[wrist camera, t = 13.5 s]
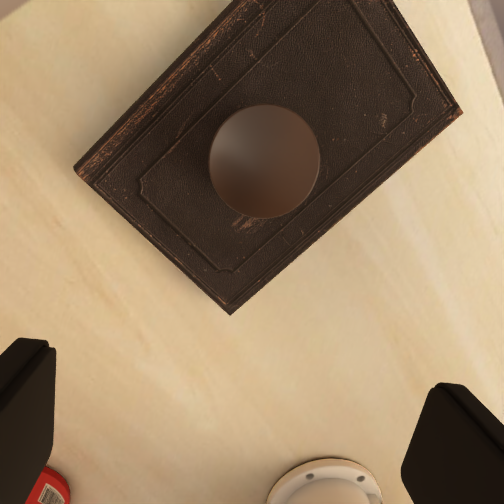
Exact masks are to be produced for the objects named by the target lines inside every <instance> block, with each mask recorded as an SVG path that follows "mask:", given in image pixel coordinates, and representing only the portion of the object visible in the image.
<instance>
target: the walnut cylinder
mask: <svg viewBox="0 0 504 504" xmlns="http://www.w3.org/2000/svg"><path fill="white" fill-rule="evenodd" d="M208 164H209V173H210V178H211V181H212V184H213V186H214V188H215V190H216V192H217V193H218V195H219V196H220V198H221V199H222V200H223V201H224V202H225V203H226V204H227V205H228V206H229V207H230V208H232V209H233V210H235V211H236V212H238V213H240V214H242V215H245V216H248V217H252V218H260V219H267V218H274V217H278V216H281V215H284V214H286V213H288V212H290V211H292V210H293V209H295V208H296V207H298V206H299V205H300V204H301V203H302V202H303V201H304V200H305V199H306V198H307V196H308V195H309V194H310V192H311V191H312V189H313V187H314V185H315V182H316V180H317V177H318V173H319V167H320V153H319V147H318V143H317V140H316V138H315V135H314V133H313V132H312V130H311V128H310V127H309V125H308V124H307V123H306V122H305V121H304V120H303V118H302V117H300V116H299V115H298V114H297V113H295V112H293V111H292V110H290V109H288V108H286V107H283V106H280V105H276V104H269V103H263V104H255V105H250V106H247V107H244V108H242V109H240V110H238V111H237V112H235V113H234V114H232V115H231V116H230V117H229V118H227V119H226V120H225V121H224V122H223V124H222V125H221V126H220V127H219V129H218V130H217V132H216V134H215V136H214V138H213V140H212V143H211V146H210V151H209V160H208Z"/></svg>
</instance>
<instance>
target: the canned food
mask: <svg viewBox="0 0 504 504" xmlns="http://www.w3.org/2000/svg"><path fill="white" fill-rule="evenodd" d="M69 502H70V490H69V486H68V484H67V482H66V481H65V479H64V478H63V477H62V476H61V475H60V474H58V473H57V472H56V471H54V470H52V469H50V468H48V467H44V469H43V470H42V472H41V474H40V476H39V478H38V480H37V482H36V484H35V485H34V487H33V489H32V491H31V493H30V495H29V497H28V499H27V500H26V502H25V504H69Z"/></svg>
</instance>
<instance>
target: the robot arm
mask: <svg viewBox="0 0 504 504" xmlns="http://www.w3.org/2000/svg"><path fill="white" fill-rule="evenodd" d="M55 377H56V349H55V348H52V347H49V344H48V341H46V340H39V339H29V338H18V339H17V340H15V341H14V342H13V343H12V344H11V345H10V346H9V347H8V348H7V349H6V350H5V351H4V352H3V353H2V354H1V355H0V504H25V502H26V500H27V499H28V497H29V495H30V493H31V491H32V489H33V487H34V485H35V484H36V482H37V480H38V478H39V476H40V474H41V472H42V470H43V469H44V467H45V465H46V463H47V461H48V459H49V456H50V454H51V450H52V446H53V434H54V405H55ZM401 478H402V482H403V484H404V486H405V488H406V490H407V492H408V493H409V495H410V497H411V499H412V501H413V503H414V504H504V425H503V424H502V423H501V422H500V421H499V420H498V419H497V418H496V417H495V416H494V415H493V414H492V413H491V412H490V411H489V410H488V409H487V408H486V407H485V406H484V405H483V404H482V403H481V402H480V401H479V400H478V399H477V398H476V397H475V396H474V395H473V394H472V393H471V392H470V391H469V390H468V389H467V388H466V387H465V386H463V385H460V384H451V383H442V382H441V383H438V384H437V385H435V387H434V388H431V389H430V391H429V393H428V395H427V398H426V401H425V404H424V406H423V409H422V412H421V414H420V417H419V420H418V423H417V425H416V428H415V431H414V433H413V436H412V439H411V442H410V444H409V447H408V450H407V452H406V455H405V458H404V461H403V463H402V466H401ZM266 504H382V494H381V491H380V488H379V486H378V484H377V482H376V480H375V478H374V476H373V475H372V474H371V473H370V472H369V471H368V470H367V469H366V468H364V467H363V466H361V465H359V464H357V463H355V462H352V461H348V460H343V459H331V458H330V459H320V460H316V461H312V462H308V463H305V464H303V465H301V466H298V467H296V468H295V469H293V470H291V471H290V472H288V473H287V474H286V475H284V476H283V477H282V478H281V479H280V480H279V481H278V482H277V483H276V484H275V486H274V487H273V488H272V490H271V492H270V494H269V496H268V499H267V502H266Z"/></svg>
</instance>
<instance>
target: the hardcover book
mask: <svg viewBox="0 0 504 504" xmlns="http://www.w3.org/2000/svg"><path fill="white" fill-rule="evenodd" d="M263 103H269V104H276V105H280V106H283V107H286V108H288V109H290V110H292V111H293V112H295V113H297V114H298V115H299V116H300V117H302V118H303V120H304V121H305V122H306V123H307V124H308V125H309V127H310V128H311V130H312V132H313V133H314V135H315V138H316V140H317V143H318V147H319V153H320V167H319V173H318V177H317V180H316V182H315V185H314V187H313V189H312V191H311V192H310V194H309V195H308V196H307V198H306V199H305V200H304V201H303V202H302V203H301V204H300V205H299V206H298V207H296V208H295V209H293V210H292V211H290V212H288V213H286V214H284V215H281V216H278V217H274V218H267V219H260V218H252V217H248V216H245V215H242V214H240V213H238V212H236V211H235V210H233V209H232V208H230V207H229V206H228V205H227V204H226V203H225V202H224V201H223V200H222V199H221V198H220V196H219V195H218V193H217V192H216V190H215V188H214V186H213V184H212V181H211V178H210V173H209V164H208V160H209V151H210V146H211V143H212V140H213V138H214V136H215V134H216V132H217V130H218V129H219V127H220V126H221V125H222V124H223V122H224V121H225V120H226V119H227V118H229V117H230V116H231V115H232V114H234V113H235V112H237V111H238V110H240V109H242V108H244V107H247V106H250V105H255V104H263ZM462 114H463V111H462V110H461V108H460V107H459V105H458V103H457V102H456V100H455V99H454V97H453V95H452V94H451V92H450V91H449V89H448V88H447V86H446V84H445V83H444V81H443V80H442V78H441V76H440V75H439V73H438V72H437V70H436V68H435V67H434V65H433V64H432V62H431V61H430V59H429V57H428V56H427V54H426V53H425V51H424V49H423V48H422V46H421V45H420V43H419V41H418V40H417V38H416V37H415V35H414V34H413V32H412V30H411V29H410V27H409V26H408V24H407V22H406V21H405V19H404V18H403V16H402V14H401V13H400V11H399V10H398V8H397V7H396V5H395V3H394V2H393V0H233V1H232V2H231V3H230V4H229V5H228V6H227V7H226V8H225V9H224V10H223V11H222V12H221V13H220V14H219V15H218V17H217V18H216V19H215V20H214V21H213V22H212V23H211V24H210V25H209V26H208V27H207V28H206V29H205V30H204V31H203V32H202V33H201V34H200V35H199V36H198V37H197V38H196V39H195V40H194V41H193V42H192V44H191V45H190V46H189V47H188V48H187V49H186V50H185V51H184V52H183V53H182V54H181V55H180V56H179V57H178V58H177V59H176V60H175V61H174V62H173V63H172V64H171V65H170V66H169V67H168V68H167V69H166V71H165V72H164V73H163V74H162V75H161V76H160V77H159V78H158V79H157V80H156V81H155V82H154V83H153V84H152V85H151V86H150V87H149V88H148V89H147V90H146V91H145V92H144V93H143V94H142V95H141V97H140V98H139V99H138V100H137V101H136V102H135V103H134V104H133V105H132V106H131V107H130V108H129V109H128V110H127V111H126V112H125V113H124V114H123V115H122V116H121V117H120V118H119V119H118V120H117V121H116V122H115V124H114V125H113V126H112V127H111V128H110V129H109V130H108V131H107V132H106V133H105V134H104V135H103V136H102V137H101V138H100V139H99V140H98V141H97V142H96V143H95V144H94V145H93V146H92V147H91V148H90V149H89V151H88V152H87V153H86V154H85V155H84V156H83V157H82V158H81V159H80V160H79V161H78V162H77V163H76V164H75V165H74V166H73V168H74V171H75V172H76V174H77V175H78V176H79V177H80V178H81V179H82V180H84V181H85V182H86V183H87V184H88V185H89V186H90V187H91V188H92V189H93V190H94V191H95V192H97V193H98V194H99V195H100V196H101V197H102V198H103V199H104V200H105V201H106V202H107V203H108V204H110V205H111V206H112V207H113V208H114V209H115V210H116V211H117V212H118V213H119V214H120V215H121V216H123V217H124V218H125V219H126V220H127V221H128V222H129V223H130V224H131V225H132V226H133V227H134V228H136V229H137V230H138V231H139V232H140V233H141V234H142V235H143V236H144V237H145V238H146V239H147V240H149V241H150V242H151V243H152V244H153V245H154V246H155V247H156V248H157V249H158V250H159V251H160V252H162V253H163V254H164V255H165V256H166V257H167V258H168V259H169V260H170V261H171V262H172V263H173V264H175V265H176V266H177V267H178V268H179V269H180V270H181V271H182V272H183V273H184V274H185V275H186V276H187V277H189V278H190V279H191V280H192V281H193V282H194V283H195V284H196V285H197V286H198V287H199V288H200V289H202V290H203V291H204V292H205V293H206V294H207V295H208V296H209V297H210V298H211V299H212V300H213V301H215V302H216V303H217V304H218V305H219V306H220V307H221V308H222V309H223V310H224V311H225V312H226V313H228V314H229V315H230V316H231V315H232V314H233V313H234V312H235V311H236V310H237V309H239V308H240V307H241V306H242V305H243V304H244V303H245V302H247V301H248V300H249V299H250V298H251V297H252V296H253V295H255V294H256V293H257V292H258V291H259V290H260V289H262V288H263V287H264V286H265V285H266V284H267V283H268V282H270V281H271V280H272V279H273V278H274V277H275V276H276V275H278V274H279V273H280V272H281V271H282V270H283V269H285V268H286V267H287V266H288V265H289V264H290V263H291V262H293V261H294V260H295V259H296V258H297V257H298V256H299V255H301V254H302V253H303V252H304V251H305V250H306V249H308V248H309V247H310V246H311V245H312V244H313V243H314V242H316V241H317V240H318V239H319V238H320V237H321V236H322V235H324V234H325V233H326V232H327V231H328V230H329V229H331V228H332V227H333V226H334V225H335V224H336V223H337V222H339V221H340V220H341V219H342V218H343V217H344V216H345V215H347V214H348V213H349V212H350V211H351V210H352V209H353V208H355V207H356V206H357V205H358V204H359V203H360V202H362V201H363V200H364V199H365V198H366V197H367V196H368V195H370V194H371V193H372V192H373V191H374V190H375V189H376V188H378V187H379V186H380V185H381V184H382V183H383V182H385V181H386V180H387V179H388V178H389V177H390V176H391V175H393V174H394V173H395V172H396V171H397V170H398V169H399V168H401V167H402V166H403V165H404V164H405V163H406V162H408V161H409V160H410V159H411V158H412V157H413V156H414V155H416V154H417V153H418V152H419V151H420V150H421V149H422V148H424V147H425V146H426V145H427V144H428V143H429V142H430V141H432V140H433V139H434V138H435V137H436V136H437V135H439V134H440V133H441V132H442V131H443V130H444V129H445V128H447V127H448V126H449V125H450V124H451V123H452V122H453V121H455V120H456V119H457V118H458V117H459V116H460V115H462Z"/></svg>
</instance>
